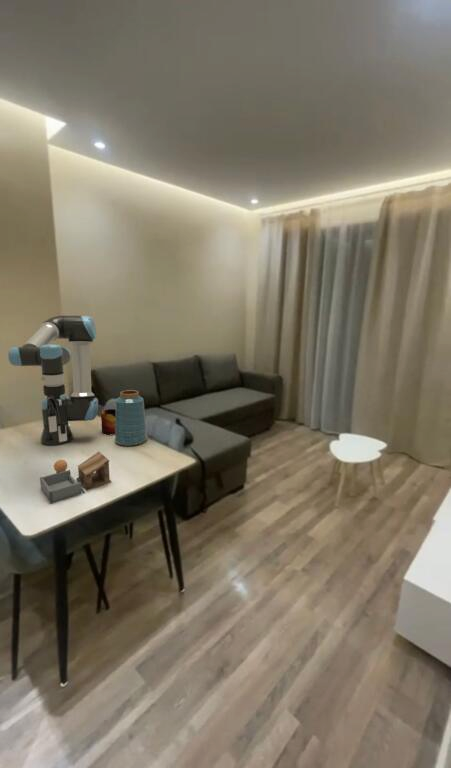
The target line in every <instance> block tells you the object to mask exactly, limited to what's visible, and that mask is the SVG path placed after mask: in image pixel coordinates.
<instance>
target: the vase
mask: <svg viewBox="0 0 451 768" xmlns="http://www.w3.org/2000/svg"><path fill="white" fill-rule="evenodd" d="M119 395H120V396H119V397H118V398H116V399H115V409H116V416H115V419H116V420H115V434H114V441H115V443H116V444H118V445H120V446H123V445H124V446H125V447H133V446H132V445H135V446H138V444H139V445H141V444H143V443H145V442H146V441H147V440H148V435H147V423H146V413H145V402H144V398H143V397H141V395H140V394H139V391H138V390H135V389H127V390H122V391H120V393H119ZM124 446H123V447H124Z"/></svg>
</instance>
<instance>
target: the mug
mask: <svg viewBox="0 0 451 768" xmlns="http://www.w3.org/2000/svg"><path fill="white" fill-rule="evenodd" d="M115 416H116V408H113V409H111V408H110V409H104V410H102V411H100V418H101V419H100V421H101V434H102V433H103V434H102V435H104V434H106V435H105V436H111V435H110V434H114V435H115V420H116V419H115Z"/></svg>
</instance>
